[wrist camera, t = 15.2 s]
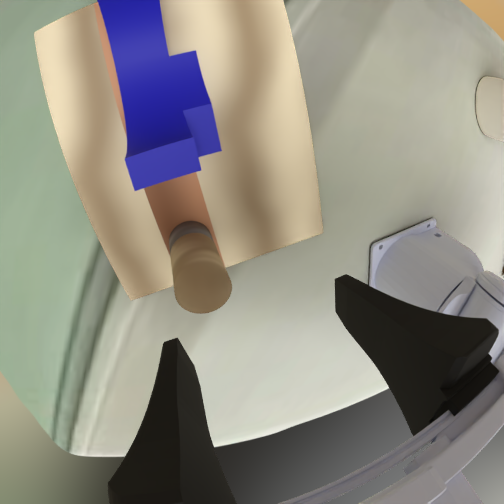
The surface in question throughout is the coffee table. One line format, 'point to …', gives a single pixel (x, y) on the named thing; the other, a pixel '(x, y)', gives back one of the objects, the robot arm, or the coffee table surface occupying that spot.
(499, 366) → the robot arm
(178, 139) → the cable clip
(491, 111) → the bottle
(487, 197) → the coffee table surface
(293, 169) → the plywood sheet
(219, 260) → the cylindrical peg
